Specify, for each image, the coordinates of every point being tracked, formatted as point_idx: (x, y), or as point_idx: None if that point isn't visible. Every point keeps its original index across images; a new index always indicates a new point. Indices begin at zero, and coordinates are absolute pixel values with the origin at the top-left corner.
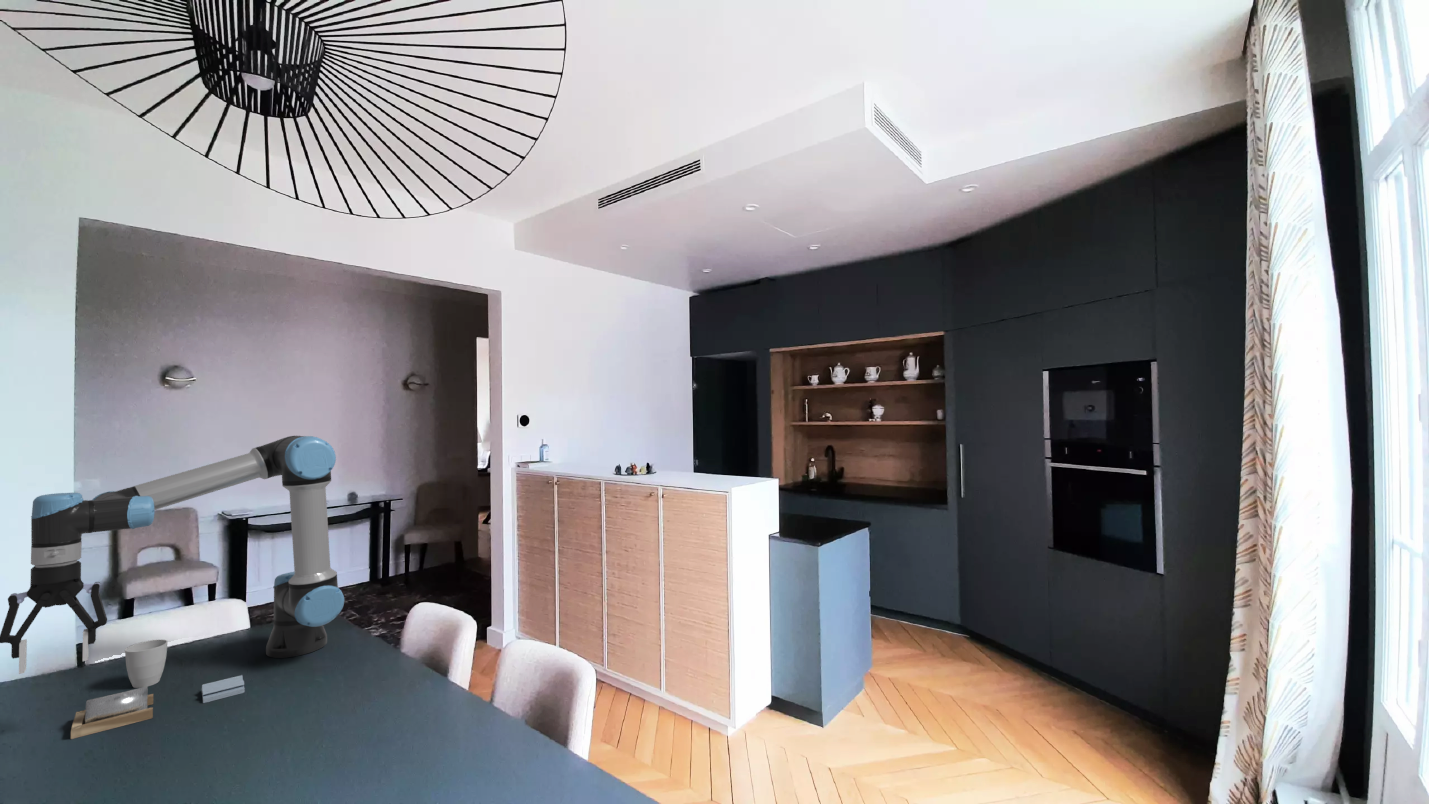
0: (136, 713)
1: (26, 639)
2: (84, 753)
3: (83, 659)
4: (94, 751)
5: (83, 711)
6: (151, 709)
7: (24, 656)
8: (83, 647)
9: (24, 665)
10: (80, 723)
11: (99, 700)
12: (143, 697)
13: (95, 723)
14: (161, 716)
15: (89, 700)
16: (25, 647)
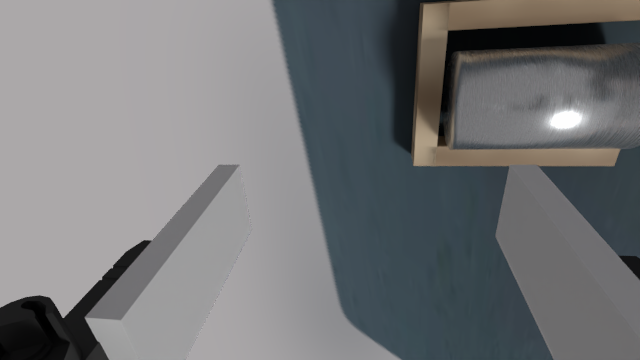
0: (569, 165)
1: (122, 326)
2: (436, 254)
3: (503, 242)
4: (453, 258)
5: (444, 16)
6: (611, 163)
7: (214, 298)
8: (534, 307)
9: (237, 249)
10: (434, 133)
11: (497, 133)
12: (620, 147)
13: (467, 161)
14: (619, 156)
15: (470, 115)
16: (178, 318)
